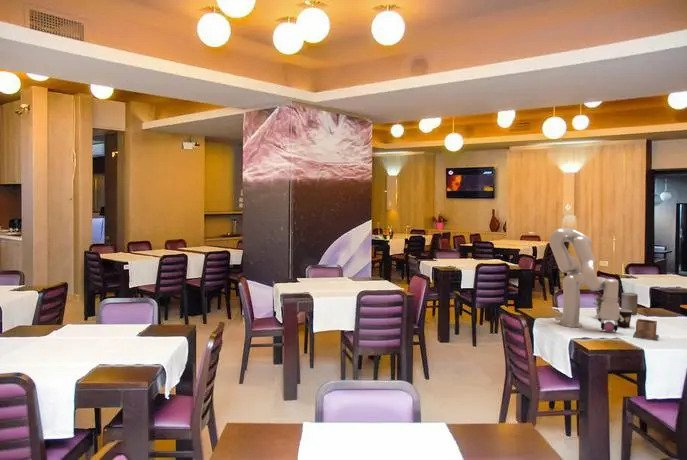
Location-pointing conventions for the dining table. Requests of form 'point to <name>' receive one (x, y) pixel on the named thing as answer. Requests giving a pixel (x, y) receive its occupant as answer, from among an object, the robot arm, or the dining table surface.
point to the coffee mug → (625, 318)
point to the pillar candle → (630, 302)
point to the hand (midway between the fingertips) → (609, 330)
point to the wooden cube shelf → (646, 329)
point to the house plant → (598, 305)
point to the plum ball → (609, 326)
